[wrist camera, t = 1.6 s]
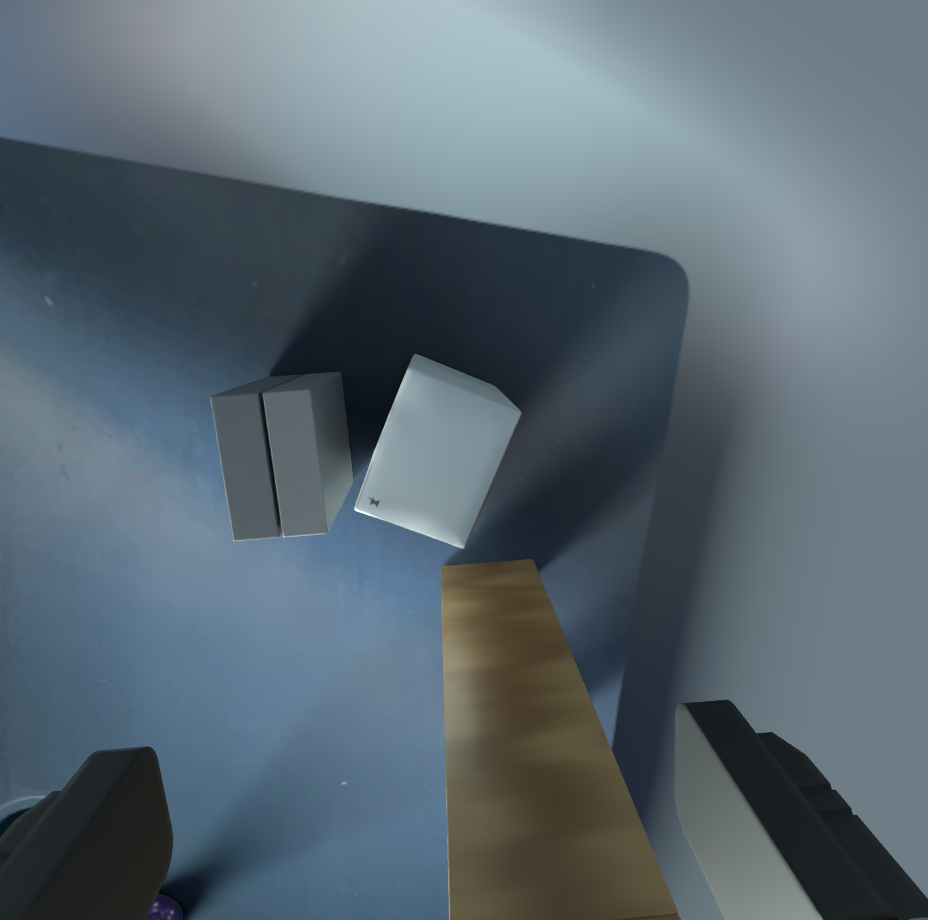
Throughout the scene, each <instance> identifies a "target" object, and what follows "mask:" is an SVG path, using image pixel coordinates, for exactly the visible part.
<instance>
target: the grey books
mask: <svg viewBox="0 0 928 920" xmlns="http://www.w3.org/2000/svg"><path fill="white" fill-rule="evenodd" d="M210 399H211V405H212V411H213V417H214V423H215V430H216V436H217V442H218V448H219V454H220V460H221V466H222V473H223V479H224V485H225V491H226V497H227V503H228V510H229V516H230V522H231V528H232V534H233V540H234V541H243V540H255V539H267V538H278V537H279V536H280V535H281V534H282V533H283V537H292V536H305V535H317V534H328V533H329V531H330V529H331V527H332V525H333V523H334V521H335V518H336V516H337V514H338V512H339V510H340V508H341V506H342V504H343V502H344V500H345V498H346V496H347V494H348V492H349V490H350V488H351V486H352V484H353V482H354V480H353V471H352V462H351V453H350V444H349V435H348V427H347V418H346V409H345V400H344V391H343V382H342V374H341V372H328V373H314V374H305V375H303V376H302V375H287V376H273V377H265V378H263V379H260V380H257V381H254V382H251V383H248V384H245V385H242V386H239V387H236V388H233V389H231V390H228V391H225V392H222V393H219V394H216V395H213V396H211V397H210Z"/></svg>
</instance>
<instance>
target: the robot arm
mask: <svg viewBox="0 0 928 920" xmlns="http://www.w3.org/2000/svg"><path fill="white" fill-rule="evenodd" d="M674 794H675V802H676V808H677V812H678V816H679V820H680V823H681V827H682V829H683V832H684V835H685V837H686V839H687V841H688V843H689V845H690V847H691V849H692V851H693V853H694V855H695V858H696V860H697V862H698V864H699V866H700V868H701V870H702V872H703V874H704V877H705V879H706V881H707V883H708V885H709V887H710V889H711V891H712V893H713V895H714V897H715V900H716V902H717V904H718V906H719V908H720V910H721V912H722V914H723V916H724V918H725V920H928V899H927V897H926V896H925V895H924V894H923V893H922V892H921V890H920V889H919V888H918V887H917V886H916V884H915V883H914V882H913V881H912V880H911V878H910V877H909V876H908V875H907V874H906V873H905V872H904V870H903V869H902V868H901V867H900V865H899V864H898V863H897V862H896V861H895V860H894V858H893V857H892V856H891V855H890V854H889V853H888V851H887V850H886V849H885V848H884V847H883V845H882V844H881V843H880V842H879V841H878V840H877V838H876V837H875V836H874V835H873V834H872V832H871V831H870V830H869V829H868V828H867V826H866V825H865V824H864V823H863V822H862V821H861V819H860V818H859V817H858V816H857V815H853V813H852V811H851V808H850V806H849V805H848V804H847V803H846V802H845V800H844V799H843V798H842V797H841V796H840V795H839V794H838V792H837V791H836V790H832V789H831V785H830V783H829V782H828V780H827V779H826V778H825V777H824V776H823V774H822V773H821V772H820V771H819V770H818V769H817V767H816V766H815V765H814V764H813V763H812V762H811V760H810V759H809V758H808V757H807V756H806V755H805V754H804V753H802V752H801V751H799V750H798V749H796V748H795V747H793V746H792V745H790V744H789V743H787V742H786V741H784V740H783V739H781V738H780V737H778V736H777V735H775V734H774V733H773V732H769V733H756V732H755V731H754V730H753V728H752V727H751V726H750V725H749V723H748V722H747V721H746V719H745V718H744V717H743V715H742V714H741V713H740V712H739V710H738V709H737V708H736V706H735V705H734V704H733V703H732V702H731V701H729V700H718V701H706V702H694V703H682V704H679V705H678V706H677V708H676V714H675V760H674ZM172 848H173V832H172V826H171V821H170V816H169V811H168V806H167V801H166V797H165V792H164V787H163V782H162V777H161V772H160V767H159V762H158V758H157V755H156V753H155V751H154V750H153V749H152V748H151V747H136V748H124V749H112V750H100V751H96V752H94V753H93V754H91V755H90V756H89V757H88V758H87V760H86V761H85V762H84V763H83V765H82V766H81V767H80V768H79V770H78V771H77V772H76V773H75V775H74V776H73V777H72V778H71V780H70V781H69V782H68V783H67V785H66V786H65V787H64V788H63V790H62V791H53V792H51V793H50V794H49V795H48V796H46V797H45V798H44V799H42V800H41V801H40V802H38V803H37V804H36V805H35V806H33V807H32V808H31V809H29V810H28V811H27V812H25V813H24V814H23V815H22V816H20V817H19V818H18V819H16V820H15V821H14V822H13V823H12V824H11V826H10V827H9V828H8V829H7V830H6V831H5V833H4V834H3V835H2V836H1V837H0V920H145V919H146V917H147V915H148V913H149V911H150V909H151V907H152V905H153V903H154V901H155V899H156V897H157V895H158V893H159V891H160V889H161V887H162V885H163V883H164V880H165V878H166V875H167V872H168V869H169V865H170V861H171V856H172Z"/></svg>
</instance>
